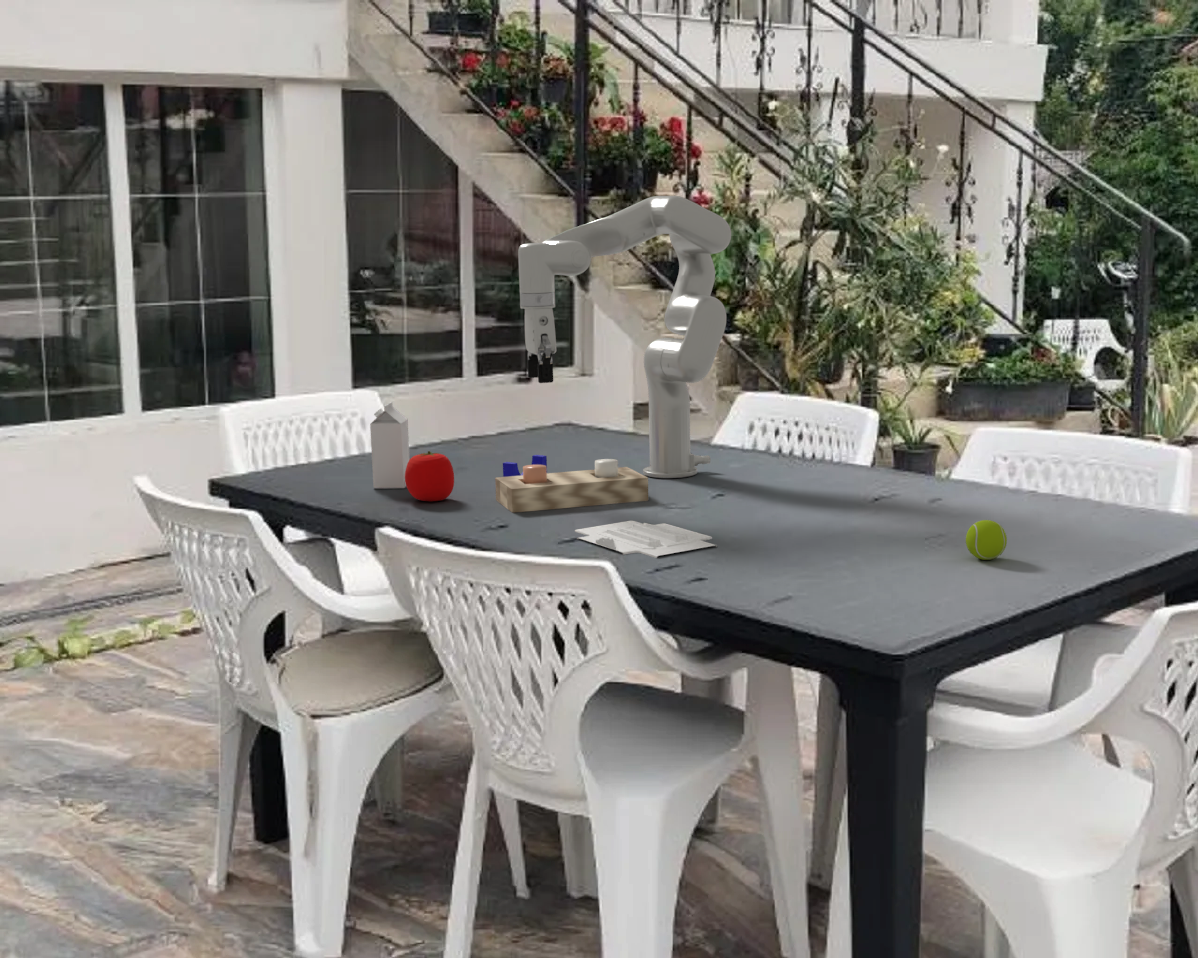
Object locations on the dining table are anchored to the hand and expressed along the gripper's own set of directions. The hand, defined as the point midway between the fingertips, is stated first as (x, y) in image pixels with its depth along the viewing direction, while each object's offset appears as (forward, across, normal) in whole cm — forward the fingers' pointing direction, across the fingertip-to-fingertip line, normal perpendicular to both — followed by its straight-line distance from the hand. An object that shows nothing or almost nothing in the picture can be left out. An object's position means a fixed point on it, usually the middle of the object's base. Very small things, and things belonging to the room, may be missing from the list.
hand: (540, 380), depth 331 cm
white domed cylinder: (+22, -9, -12) cm, 27 cm away
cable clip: (+26, +13, +2) cm, 29 cm away
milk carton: (+25, +22, +31) cm, 45 cm away
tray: (+26, -51, -7) cm, 57 cm away
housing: (+25, -10, -4) cm, 27 cm away
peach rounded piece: (+22, -10, +4) cm, 25 cm away
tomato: (+25, +2, +25) cm, 36 cm away
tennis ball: (+26, -88, -59) cm, 109 cm away
